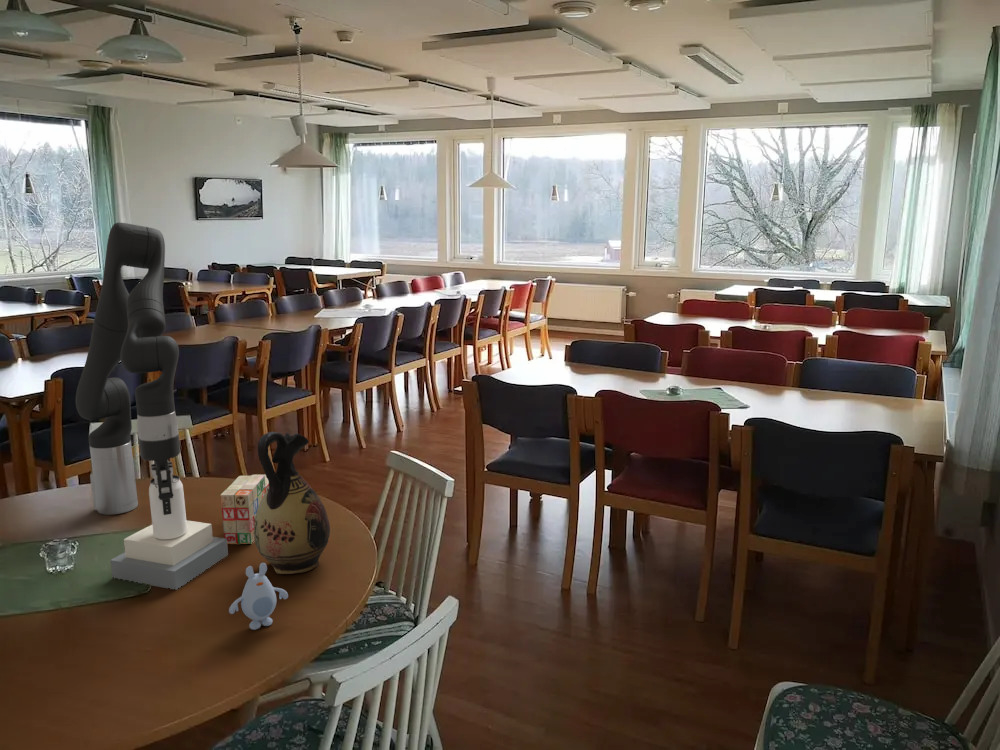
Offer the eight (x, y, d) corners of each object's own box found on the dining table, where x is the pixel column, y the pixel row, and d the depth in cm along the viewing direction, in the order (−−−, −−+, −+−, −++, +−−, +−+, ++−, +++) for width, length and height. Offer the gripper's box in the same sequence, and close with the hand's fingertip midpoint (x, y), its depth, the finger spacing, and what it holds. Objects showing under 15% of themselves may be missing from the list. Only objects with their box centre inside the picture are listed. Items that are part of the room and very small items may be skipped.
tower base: (112, 578, 158) (108, 541, 156) (168, 545, 172) (165, 512, 171) (176, 590, 153) (172, 552, 151) (228, 555, 167) (225, 521, 166)
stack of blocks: (255, 508, 194) (251, 462, 191) (280, 508, 194) (276, 462, 191) (224, 545, 173) (219, 494, 170) (251, 545, 173) (247, 494, 170)
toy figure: (235, 642, 134) (230, 579, 132) (226, 626, 139) (221, 565, 137) (295, 624, 140) (290, 563, 137) (284, 609, 145) (280, 551, 142)
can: (193, 533, 160) (188, 478, 157) (163, 543, 155) (157, 487, 152) (177, 525, 164) (172, 472, 161) (147, 535, 159) (141, 480, 156)
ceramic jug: (294, 543, 173) (285, 415, 167) (346, 558, 166) (339, 425, 159) (234, 574, 159) (222, 435, 153) (288, 592, 152) (279, 447, 145)
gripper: (181, 440, 152) (188, 517, 155) (175, 422, 164) (182, 494, 168) (139, 445, 148) (148, 524, 152) (137, 427, 161) (145, 500, 164)
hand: (166, 508), depth 160 cm, fingers open, 8 cm apart
